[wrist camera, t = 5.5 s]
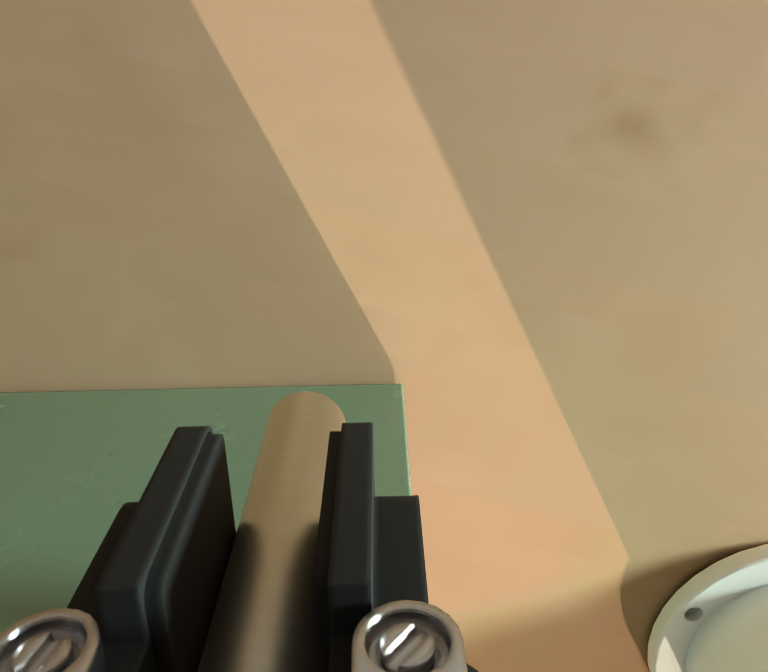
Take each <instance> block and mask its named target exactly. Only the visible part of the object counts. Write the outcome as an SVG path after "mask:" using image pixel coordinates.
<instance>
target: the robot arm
mask: <svg viewBox="0 0 768 672" xmlns="http://www.w3.org/2000/svg"><path fill="white" fill-rule="evenodd" d="M235 536H236V529H235V521H234V513H233V505H232V497H231V489H230V481H229V473H228V465H227V457H226V449H225V441H224V437H223V435H222V434H213V430H212V428H211V427H210V426H182V427H177V428H176V429H175V431H174V433H173V435H172V437H171V439H170V441H169V443H168V445H167V447H166V449H165V451H164V453H163V455H162V457H161V459H160V461H159V463H158V465H157V467H156V469H155V471H154V473H153V475H152V477H151V479H150V480H149V482H148V484H147V486H146V488H145V490H144V492H143V494H142V496H141V498H140V500H139V502H127V503H125V504H123V506H122V507H121V508H120V510H119V512H118V513H117V515H116V517H115V519H114V521H113V523H112V525H111V526H110V528H109V530H108V532H107V534H106V536H105V538H104V539H103V541H102V543H101V545H100V547H99V549H98V551H97V552H96V554H95V556H94V558H93V560H92V562H91V564H90V565H89V567H88V569H87V571H86V573H85V575H84V576H83V578H82V580H81V582H80V584H79V586H78V588H77V589H76V591H75V593H74V595H73V597H72V599H71V601H70V602H69V604H68V606H67V608H59V609H51V610H45V611H42V612H39V613H36V614H33V615H30V616H28V617H26V618H24V619H22V620H20V621H18V622H16V623H14V624H13V625H11V626H10V627H8V628H7V629H6V630H5V631H3V632H2V633H1V634H0V672H197V671H198V667H199V664H200V660H201V657H202V653H203V650H204V646H205V642H206V639H207V635H208V632H209V628H210V625H211V621H212V618H213V614H214V610H215V607H216V603H217V600H218V596H219V593H220V589H221V585H222V582H223V578H224V575H225V571H226V568H227V564H228V561H229V557H230V553H231V550H232V546H233V543H234V539H235ZM313 611H314V624H315V637H316V651H317V664H318V672H478V671H477V670H475V669H474V668H473V667H471V666H470V665H468V664H467V663H466V657H465V650H464V643H463V638H462V635H461V632H460V630H459V627H458V625H457V624H456V623H455V621H454V620H453V619H452V618H451V617H450V615H448V614H447V613H445V612H444V611H442V610H441V609H439V608H438V607H436V606H433V605H430V604H428V593H427V582H426V571H425V560H424V549H423V538H422V527H421V516H420V505H419V497H418V495H414V496H375V476H374V442H373V422H358V423H342V427H341V431H330V434H329V442H328V451H327V459H326V468H325V476H324V485H323V493H322V502H321V510H320V519H319V527H318V536H317V544H316V553H315V561H314V570H313ZM647 661H648V665H649V670H650V672H768V544H765V545H761V546H758V547H754V548H750V549H747V550H743V551H740V552H737V553H735V554H733V555H731V556H728V557H726V558H724V559H722V560H719V561H717V562H715V563H714V564H712V565H710V566H709V567H707V568H706V569H704V570H702V571H701V572H699V573H698V574H696V575H695V576H694V577H692V578H691V579H690V580H689V581H688V582H687V583H685V584H684V585H683V586H682V587H681V588H680V589H679V590H677V591H676V593H675V594H674V595H673V596H672V597H671V599H670V600H669V601H668V602H667V604H666V605H665V606H664V607H663V609H662V611H661V612H660V614H659V616H658V618H657V620H656V621H655V623H654V625H653V628H652V632H651V635H650V639H649V642H648V659H647Z"/></svg>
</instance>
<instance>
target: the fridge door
mask: <svg viewBox="0 0 768 672" xmlns="http://www.w3.org/2000/svg"><path fill="white" fill-rule="evenodd" d="M358 422H373V442H374V476H375V496H411V487H410V474H409V461H408V448H407V435H406V422H405V409H404V396H403V385H402V384H373V385H329V386H284V387H239V388H194V389H149V390H104V391H59V392H14V393H0V634H1V633H2V632H3V631H5V630H6V629H7V628H8V627H10V626H11V625H13V624H14V623H16V622H18V621H20V620H22V619H24V618H26V617H28V616H30V615H33V614H36V613H39V612H42V611H45V610H51V609H59V608H67V606H68V604H69V602H70V601H71V599H72V597H73V595H74V593H75V591H76V589H77V588H78V586H79V584H80V582H81V580H82V578H83V576H84V575H85V573H86V571H87V569H88V567H89V565H90V564H91V562H92V560H93V558H94V556H95V554H96V552H97V551H98V549H99V547H100V545H101V543H102V541H103V539H104V538H105V536H106V534H107V532H108V530H109V528H110V526H111V525H112V523H113V521H114V519H115V517H116V515H117V513H118V512H119V510H120V508H121V507H122V506H123V504H125V503H127V502H139V500H140V498H141V496H142V494H143V492H144V490H145V488H146V486H147V484H148V482H149V480H150V479H151V477H152V475H153V473H154V471H155V469H156V467H157V465H158V463H159V461H160V459H161V457H162V455H163V453H164V451H165V449H166V447H167V445H168V443H169V441H170V439H171V437H172V435H173V433H174V431H175V429H176V428H177V427H182V426H210V427H211V428H212V430H213V434H222V435H223V437H224V441H225V449H226V457H227V465H228V473H229V481H230V489H231V497H232V505H233V513H234V521H235V529H236V536H235V539H234V543H233V546H232V550H231V553H230V557H229V561H228V564H227V568H226V571H225V575H224V578H223V582H222V585H221V589H220V593H219V596H218V600H217V603H216V607H215V610H214V614H213V618H212V621H211V625H210V628H209V632H208V635H207V639H206V642H205V646H204V650H203V653H202V657H201V660H200V664H199V667H198V671H197V672H318V664H317V651H316V637H315V624H314V611H313V570H314V561H315V553H316V544H317V536H318V527H319V519H320V510H321V502H322V493H323V485H324V476H325V468H326V459H327V451H328V442H329V434H330V431H341V427H342V423H358Z"/></svg>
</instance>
